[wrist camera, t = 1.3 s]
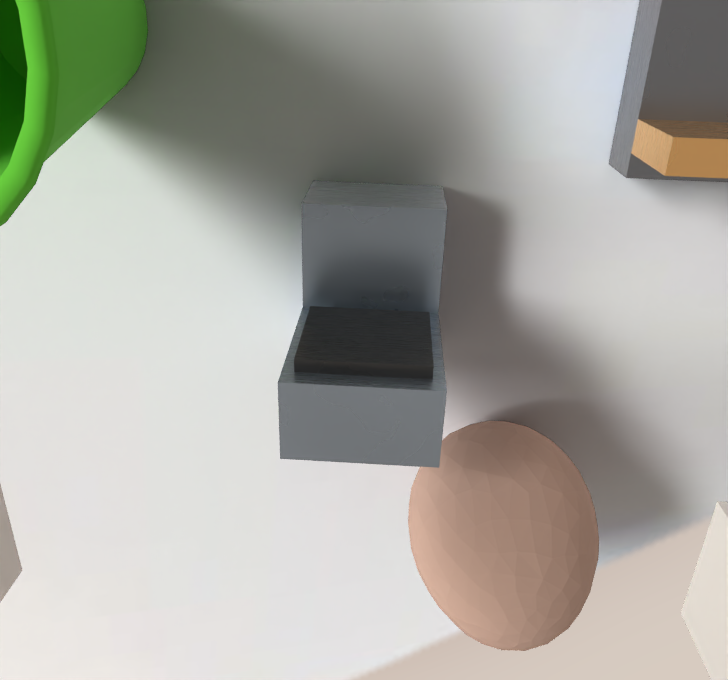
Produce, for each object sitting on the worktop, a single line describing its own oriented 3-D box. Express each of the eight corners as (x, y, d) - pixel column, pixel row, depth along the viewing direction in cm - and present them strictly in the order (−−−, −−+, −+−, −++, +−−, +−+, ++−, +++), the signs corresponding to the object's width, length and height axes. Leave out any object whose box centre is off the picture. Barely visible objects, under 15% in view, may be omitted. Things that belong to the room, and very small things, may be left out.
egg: (392, 496, 30) (387, 685, 22) (428, 367, 27) (439, 529, 19) (539, 525, 30) (589, 722, 22) (591, 400, 27) (671, 574, 19)
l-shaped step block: (313, 180, 24) (273, 258, 17) (442, 186, 24) (458, 267, 16) (313, 334, 26) (280, 458, 19) (429, 340, 26) (438, 467, 19)
